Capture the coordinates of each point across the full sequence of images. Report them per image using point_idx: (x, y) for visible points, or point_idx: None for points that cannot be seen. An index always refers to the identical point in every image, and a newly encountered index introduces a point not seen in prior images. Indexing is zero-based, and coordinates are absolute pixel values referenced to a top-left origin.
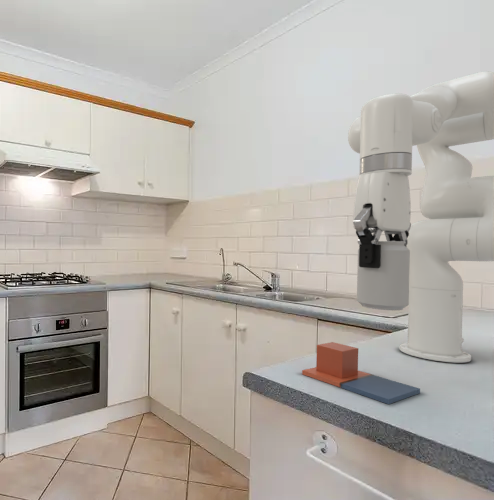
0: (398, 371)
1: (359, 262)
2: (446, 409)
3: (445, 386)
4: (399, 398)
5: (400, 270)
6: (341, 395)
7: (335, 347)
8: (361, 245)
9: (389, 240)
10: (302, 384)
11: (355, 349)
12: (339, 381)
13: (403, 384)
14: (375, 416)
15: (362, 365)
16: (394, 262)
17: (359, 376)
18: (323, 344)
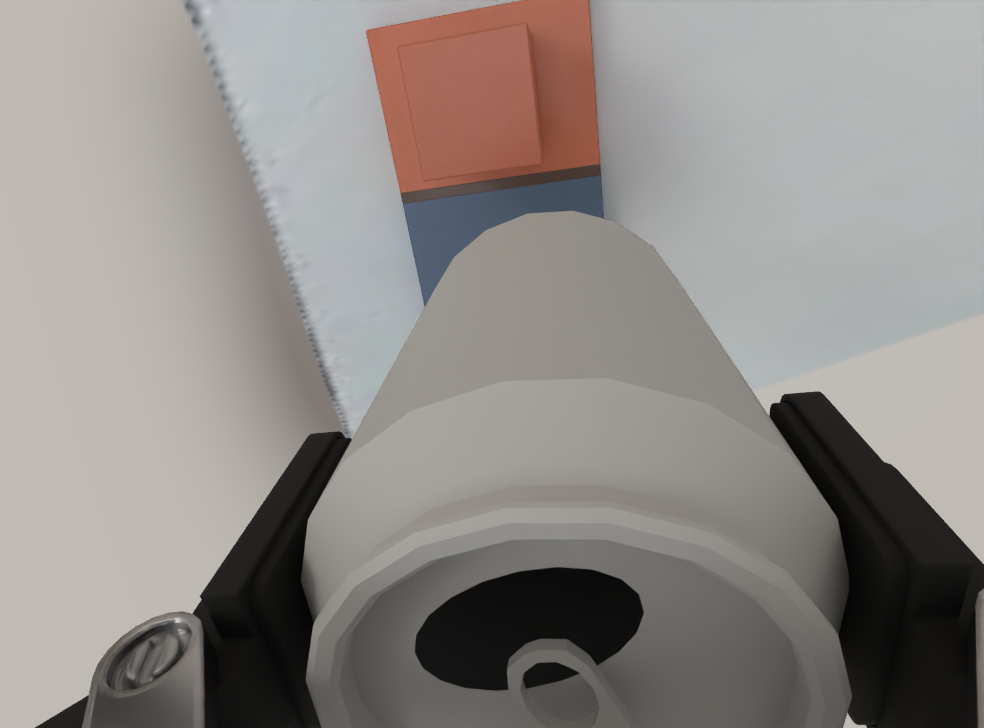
0: (801, 135)
1: (300, 453)
2: None
3: (761, 298)
4: None
5: (511, 598)
6: (357, 241)
7: (446, 120)
8: (216, 606)
9: (966, 691)
10: (298, 126)
11: (519, 166)
12: (410, 184)
13: None
14: (336, 359)
15: (745, 14)
16: (459, 635)
17: (529, 168)
18: (435, 52)
